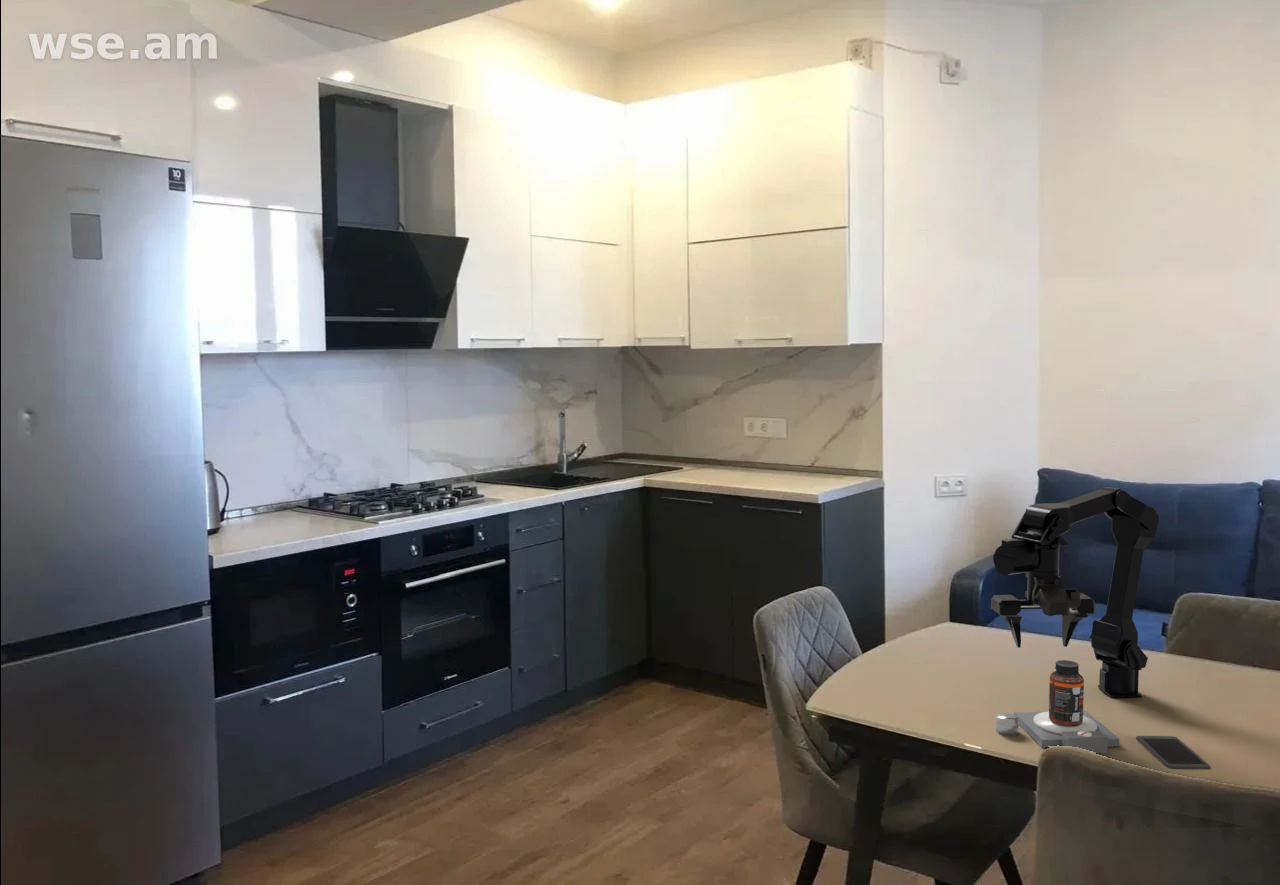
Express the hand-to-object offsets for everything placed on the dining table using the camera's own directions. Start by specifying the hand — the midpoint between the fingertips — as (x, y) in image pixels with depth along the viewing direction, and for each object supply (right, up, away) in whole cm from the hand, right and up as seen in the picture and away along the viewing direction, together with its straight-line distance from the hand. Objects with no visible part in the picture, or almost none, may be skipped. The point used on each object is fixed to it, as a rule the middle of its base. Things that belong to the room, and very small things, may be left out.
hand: (1041, 646), depth 203 cm
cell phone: (+15, -15, -20) cm, 30 cm away
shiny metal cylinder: (-10, -14, -9) cm, 20 cm away
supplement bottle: (0, -12, -11) cm, 16 cm away
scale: (0, -14, -12) cm, 19 cm away
